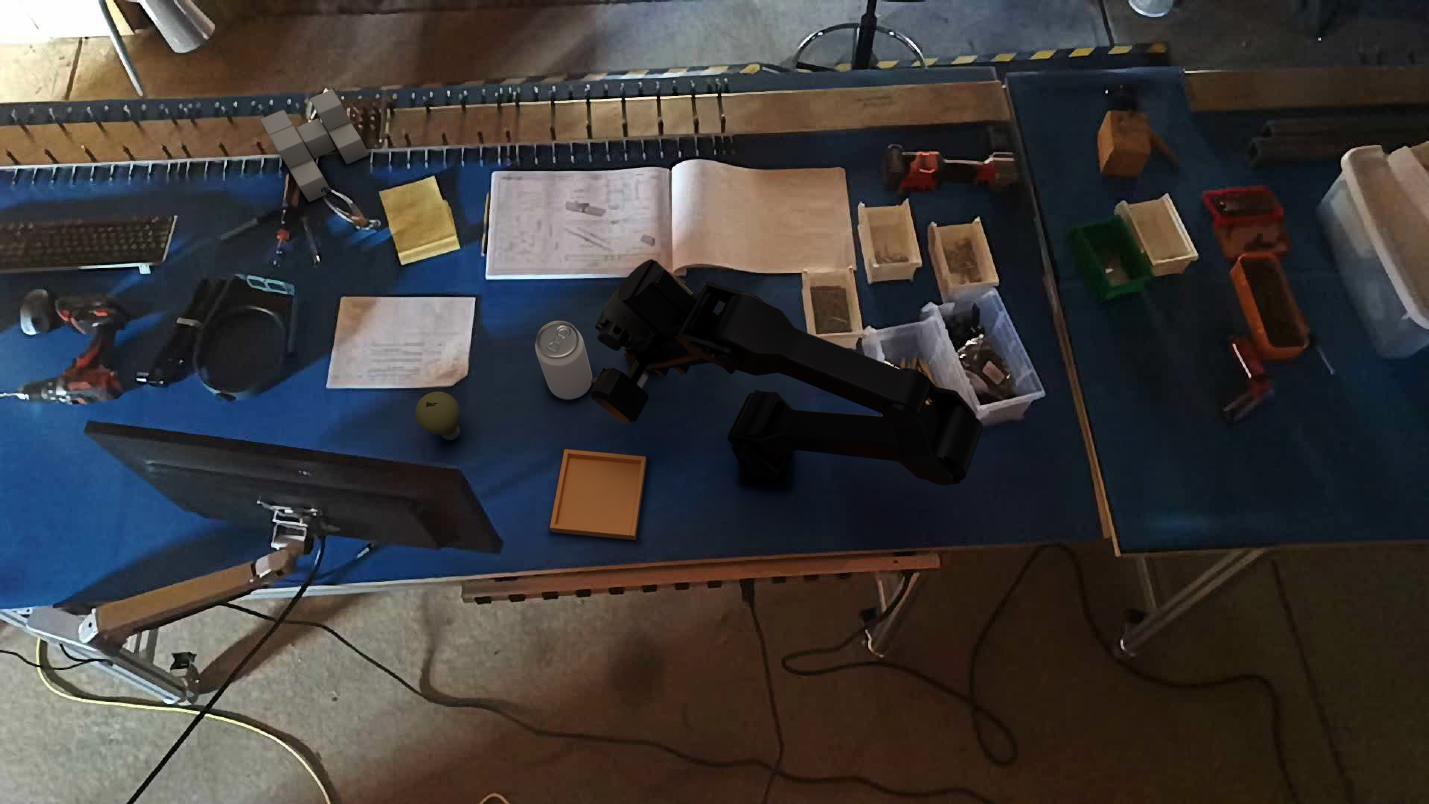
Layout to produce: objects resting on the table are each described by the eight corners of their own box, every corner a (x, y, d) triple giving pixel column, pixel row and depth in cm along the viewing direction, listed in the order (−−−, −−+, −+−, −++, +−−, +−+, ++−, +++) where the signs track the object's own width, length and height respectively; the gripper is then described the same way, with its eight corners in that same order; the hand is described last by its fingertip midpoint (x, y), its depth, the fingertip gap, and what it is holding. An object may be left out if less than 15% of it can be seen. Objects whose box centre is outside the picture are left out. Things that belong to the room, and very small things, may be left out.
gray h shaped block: (309, 202, 137) (287, 168, 130) (282, 154, 141) (259, 118, 134) (379, 171, 140) (361, 136, 133) (350, 124, 144) (332, 88, 137)
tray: (646, 462, 118) (646, 456, 116) (635, 540, 113) (634, 535, 111) (566, 454, 118) (564, 448, 116) (552, 532, 113) (549, 527, 112)
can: (600, 371, 124) (590, 328, 113) (579, 407, 121) (566, 367, 111) (561, 354, 125) (548, 310, 114) (539, 390, 123) (523, 349, 112)
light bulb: (439, 459, 118) (417, 429, 109) (426, 426, 120) (403, 394, 111) (478, 442, 119) (459, 411, 110) (464, 410, 121) (444, 377, 112)
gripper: (673, 234, 98) (600, 258, 110) (594, 363, 90) (526, 374, 102) (735, 296, 103) (659, 313, 115) (666, 423, 96) (593, 427, 108)
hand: (610, 354), depth 110 cm, fingers open, 9 cm apart
